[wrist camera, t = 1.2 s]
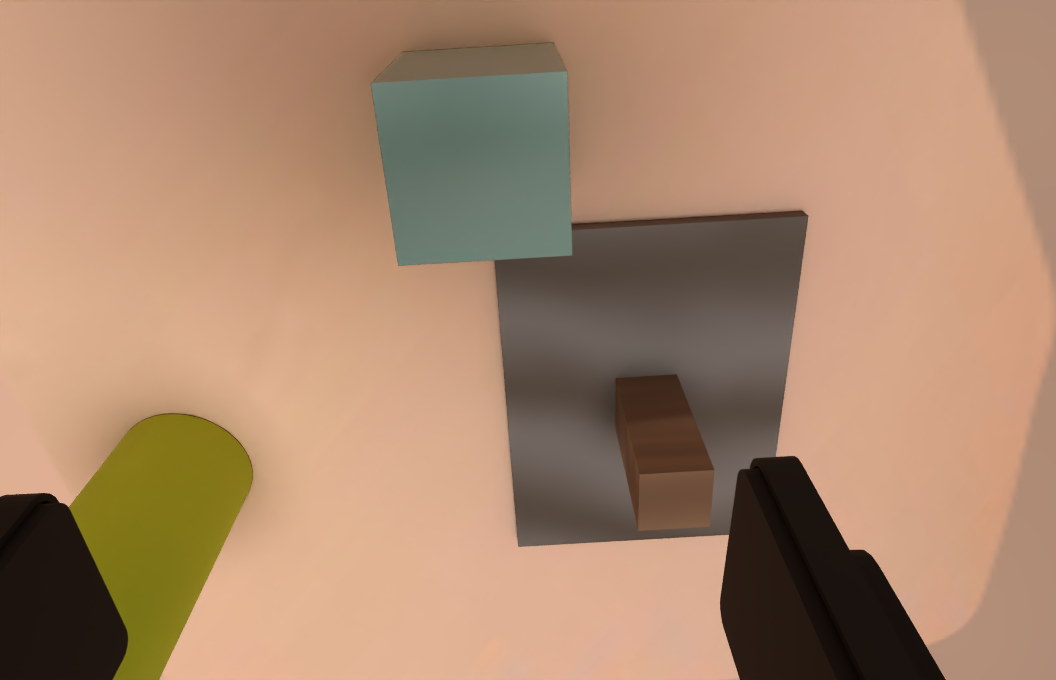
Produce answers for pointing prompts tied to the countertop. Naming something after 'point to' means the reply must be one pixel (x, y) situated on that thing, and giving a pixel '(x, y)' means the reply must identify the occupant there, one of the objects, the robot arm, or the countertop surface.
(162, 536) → the soap dispenser
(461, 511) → the countertop surface
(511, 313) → the grey base plate
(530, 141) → the teal cuboid
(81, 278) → the countertop surface
